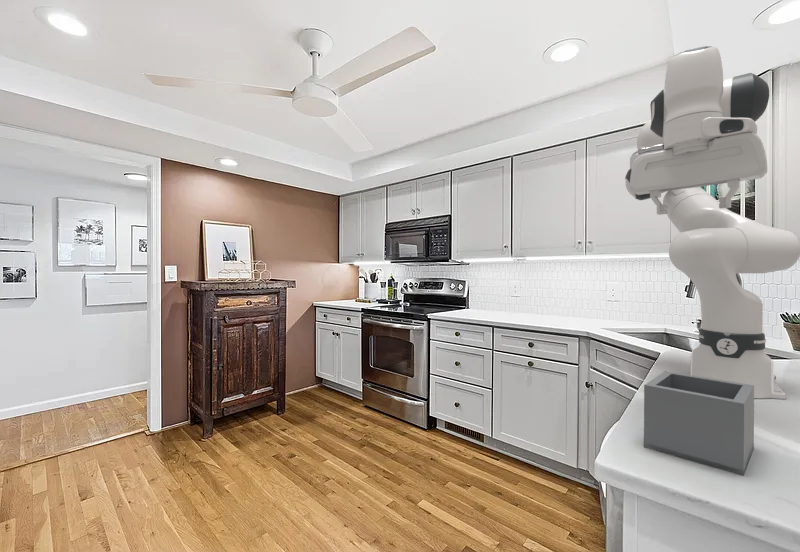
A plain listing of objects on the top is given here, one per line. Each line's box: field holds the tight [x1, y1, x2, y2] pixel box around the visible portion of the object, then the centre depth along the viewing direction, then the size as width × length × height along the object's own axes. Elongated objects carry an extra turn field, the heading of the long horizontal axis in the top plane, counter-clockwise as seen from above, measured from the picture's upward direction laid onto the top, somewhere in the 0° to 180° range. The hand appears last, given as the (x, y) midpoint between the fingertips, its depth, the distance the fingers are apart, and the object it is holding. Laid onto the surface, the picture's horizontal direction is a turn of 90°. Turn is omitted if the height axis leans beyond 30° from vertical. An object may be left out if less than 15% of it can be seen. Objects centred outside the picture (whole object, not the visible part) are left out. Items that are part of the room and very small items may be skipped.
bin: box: [643, 370, 755, 477], centre depth 59 cm, size 12×12×10 cm
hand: (692, 211), depth 71 cm, fingers open, 8 cm apart
